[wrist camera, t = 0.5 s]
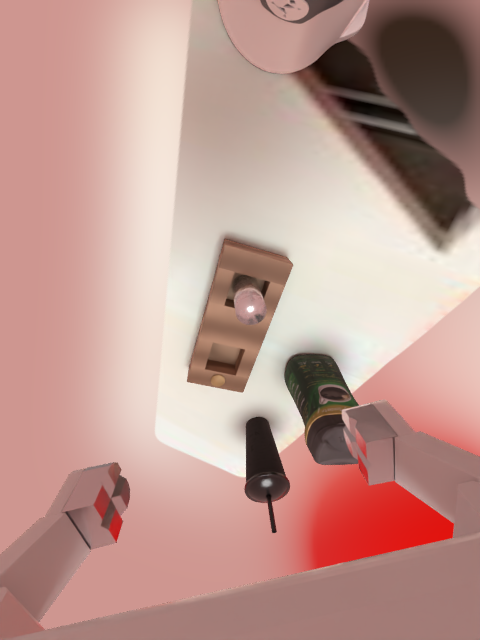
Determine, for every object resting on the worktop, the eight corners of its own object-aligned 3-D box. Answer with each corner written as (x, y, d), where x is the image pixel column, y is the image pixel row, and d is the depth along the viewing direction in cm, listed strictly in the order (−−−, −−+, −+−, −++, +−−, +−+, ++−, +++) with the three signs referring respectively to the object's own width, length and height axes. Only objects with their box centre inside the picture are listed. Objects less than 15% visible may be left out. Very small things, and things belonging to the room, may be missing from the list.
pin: (236, 271, 43) (240, 293, 35) (261, 278, 44) (271, 301, 36) (229, 295, 45) (231, 320, 37) (253, 301, 45) (260, 328, 37)
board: (224, 238, 42) (225, 244, 38) (287, 257, 43) (293, 265, 40) (189, 367, 51) (186, 382, 48) (241, 378, 53) (243, 393, 50)
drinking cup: (281, 416, 59) (309, 521, 41) (266, 441, 62) (285, 548, 44) (248, 407, 57) (261, 513, 39) (233, 433, 60) (240, 541, 42)
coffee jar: (281, 386, 55) (308, 475, 38) (287, 351, 51) (319, 434, 35) (329, 386, 56) (375, 474, 39) (338, 353, 52) (393, 434, 36)
